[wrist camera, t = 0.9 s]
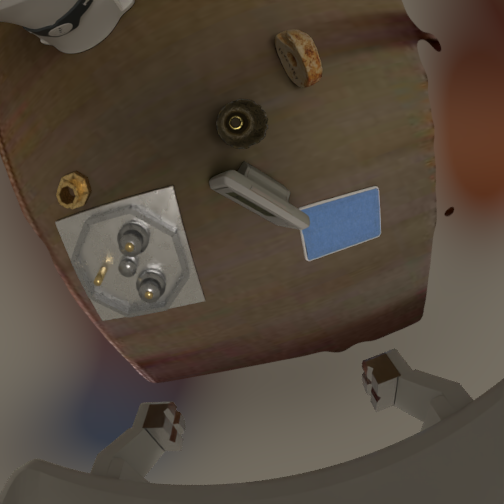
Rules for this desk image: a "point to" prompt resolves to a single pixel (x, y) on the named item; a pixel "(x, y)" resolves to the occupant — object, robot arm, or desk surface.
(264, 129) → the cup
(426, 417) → the robot arm
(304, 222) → the digital clock
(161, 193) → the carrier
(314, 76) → the stone disc
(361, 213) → the tablet computer
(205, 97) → the desk surface
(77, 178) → the flanged octagonal bushing
